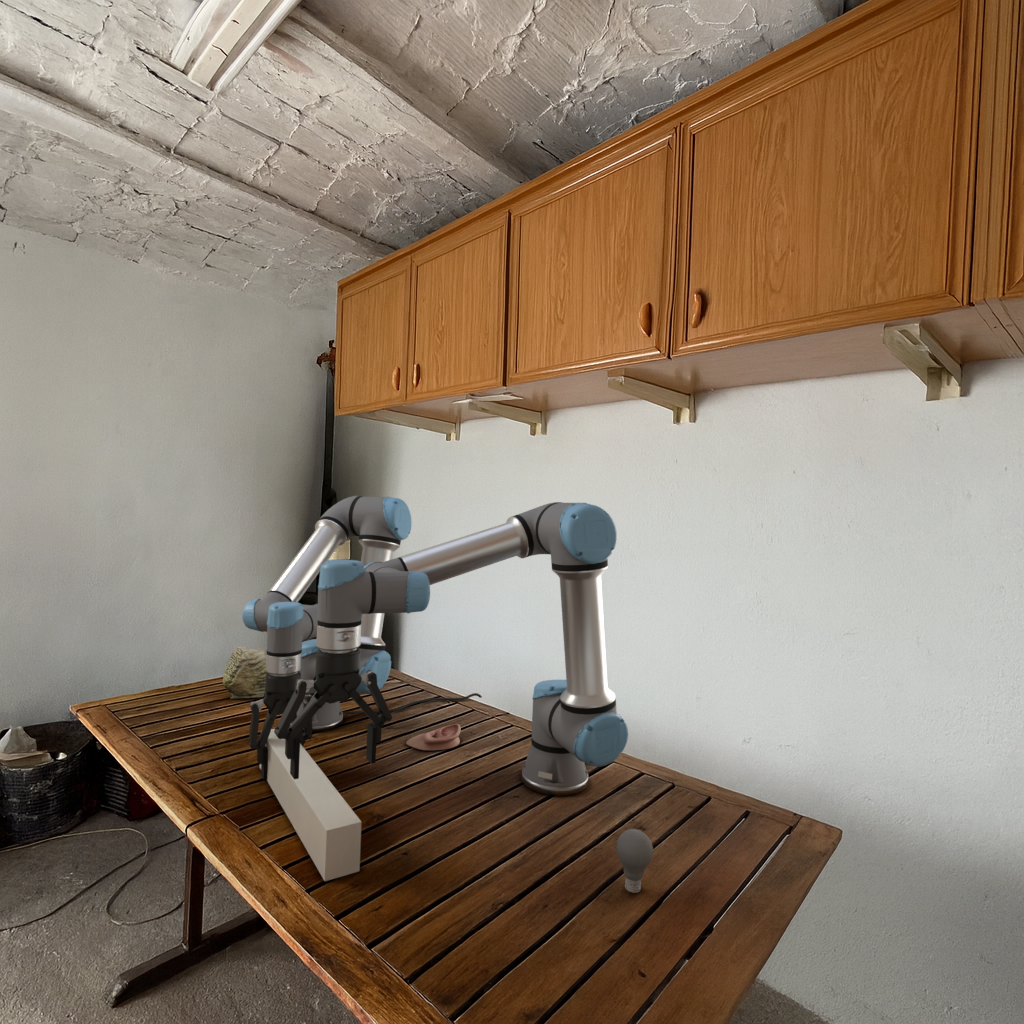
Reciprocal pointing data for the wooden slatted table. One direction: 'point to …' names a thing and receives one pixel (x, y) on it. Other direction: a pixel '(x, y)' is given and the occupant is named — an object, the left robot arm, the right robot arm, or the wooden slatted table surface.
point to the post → (315, 811)
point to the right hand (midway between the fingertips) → (333, 768)
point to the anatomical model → (437, 738)
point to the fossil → (246, 673)
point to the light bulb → (634, 857)
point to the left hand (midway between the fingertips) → (279, 773)
